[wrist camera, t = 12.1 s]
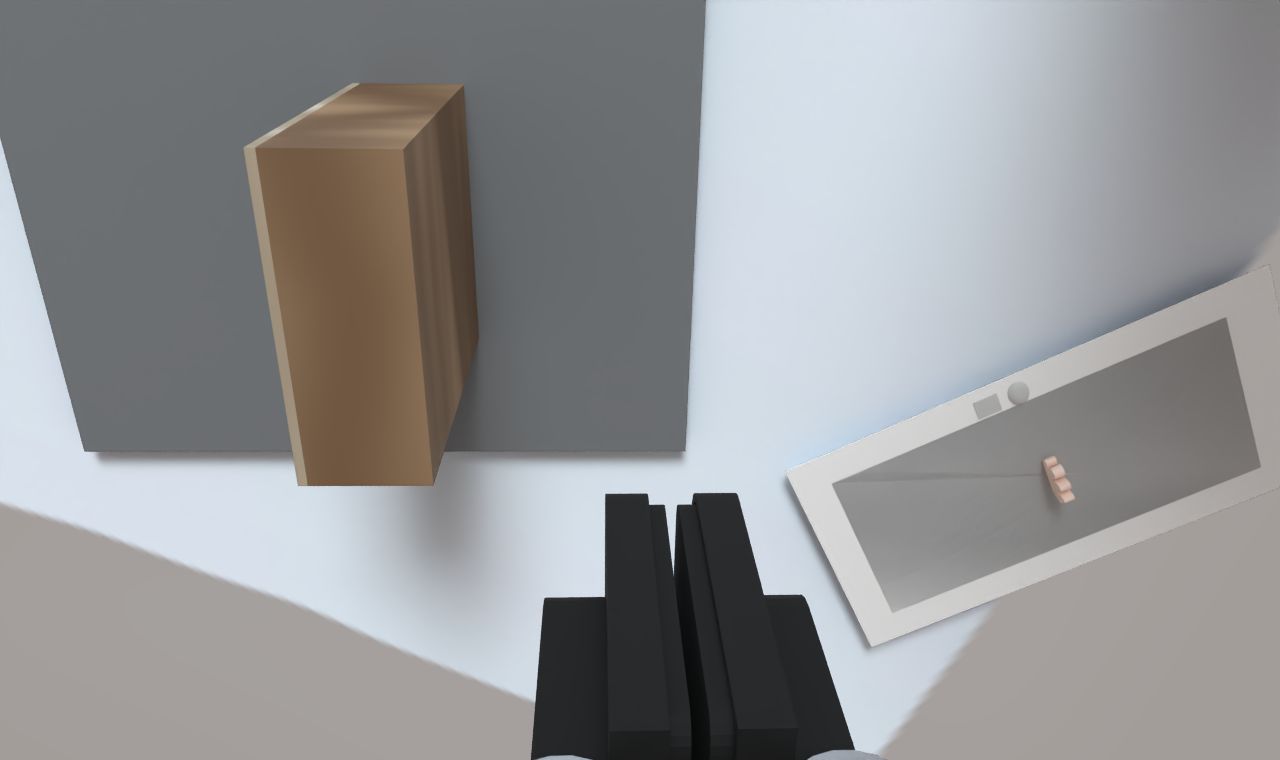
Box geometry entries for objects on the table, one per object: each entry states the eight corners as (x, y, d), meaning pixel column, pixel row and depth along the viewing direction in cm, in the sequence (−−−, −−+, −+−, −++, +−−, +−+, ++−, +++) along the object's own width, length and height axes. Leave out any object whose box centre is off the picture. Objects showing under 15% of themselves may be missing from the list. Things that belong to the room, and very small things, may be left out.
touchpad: (1290, 457, 31) (1336, 492, 29) (863, 625, 33) (879, 668, 31) (1245, 252, 28) (1294, 276, 26) (779, 454, 30) (791, 490, 28)
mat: (705, -53, 23) (708, -52, 23) (683, 441, 29) (685, 451, 29) (-40, -68, 23) (-55, -67, 22) (94, 441, 29) (84, 451, 28)
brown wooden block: (463, 84, 24) (403, 149, 17) (479, 337, 27) (433, 485, 20) (352, 82, 24) (243, 147, 17) (380, 337, 27) (298, 485, 20)
